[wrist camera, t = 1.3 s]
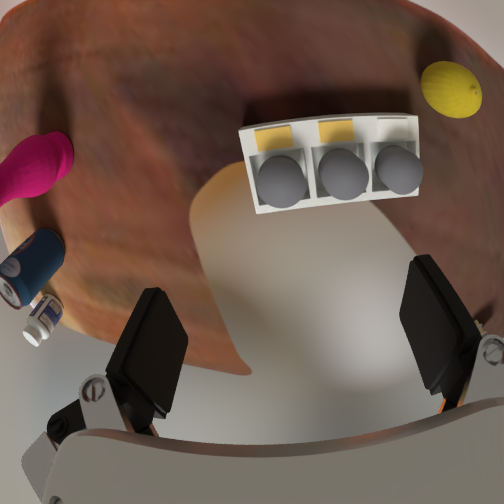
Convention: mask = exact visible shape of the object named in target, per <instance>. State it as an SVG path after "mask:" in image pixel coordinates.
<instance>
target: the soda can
mask: <svg viewBox="0 0 504 504" xmlns="http://www.w3.org/2000/svg"><path fill="white" fill-rule="evenodd" d="M64 256H65V248H64V244H63V242H62V240H61V238H60V237H59V236H58V235H57V234H56V233H55V232H54V231H53V230H50V229H38V230H37V231H35V232H34V233H33V234H32V235H31V236H30V237H29V238H27V239H26V240H25V241H24V242H23V243H22V244H21V245H20V246H19V247H18V248H17V249H16V250H14V251H13V252H12V253H11V254H10V255H9V256H8V257H7V258H6V259H5V260H4V261H3V262H2V263H1V264H0V295H1V296H2V298H3V299H4V300H5V301H6V302H7V303H8V304H9V305H10V306H11V307H13V308H14V309H17V310H19V309H21V307H23V306H26V305H28V304H30V303H31V301H32V300H33V299H34V297H35V296H36V295H37V294H38V293H39V291H40V290H41V289H42V288H43V286H44V285H45V284H46V283H47V282H48V280H49V279H50V278H51V277H52V276H53V275H54V273H55V272H56V271H57V270H58V269H59V268H60V267H61V266H62V264H63V261H64Z"/></svg>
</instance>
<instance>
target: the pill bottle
mask: <svg viewBox="0 0 504 504" xmlns="http://www.w3.org/2000/svg"><path fill="white" fill-rule="evenodd" d="M63 313H64V308H63V306H62V304H61V303H60V301H59V300H58V299H57V298H55V297H54V296H52V295H50V294H46V295H44V297H43V298H42V299H41V300H40V302H39V303H38V304H37V306H36V307H35V308H34V310H33V311H32V312H31V314H30V315H29V317H28V318H27V324H28V326H26V327H25V328H24V330H23V335H24V336H25V338H26V339H27V340H28V341H29V342H30V343H31V344H33V345H35V346H39V344H40V343H41V341H42V339H47V338H48V337H49V335H50V334H51V332H52V330H53V329H54V327H55V326H56V324H57V323H58V321H59V320H60V318H61V317H62V315H63Z"/></svg>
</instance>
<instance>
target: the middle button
mask: <svg viewBox="0 0 504 504" xmlns="http://www.w3.org/2000/svg"><path fill="white" fill-rule="evenodd" d="M318 173H319V177H320V179H321V181H322V183H323V185H324V187H325V189H326V190H327V192H328V193H329V194H330V195H331V196H333V197H334V198H336V199H339V200H352V199H355V198H357V197H358V196H360V195H361V194H362V193H363V192H364V191H365V189H366V188H367V185H368V182H369V171H368V168H367V166H366V164H365V163H364V162H363V161H362V160H361V159H360V158H359V157H357V156H356V155H355V154H354V153H352V152H351V151H349V150H347V149H343V148H336V149H332V150H330V151H328V152H327V153H325V154H324V155H323V157H322V158H321V160H320V162H319V166H318Z"/></svg>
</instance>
